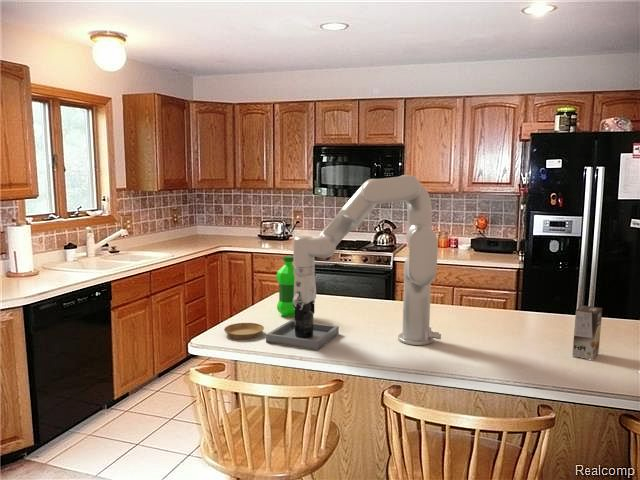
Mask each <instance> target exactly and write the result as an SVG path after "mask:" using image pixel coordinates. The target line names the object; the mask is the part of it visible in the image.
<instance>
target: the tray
mask: <svg viewBox="0 0 640 480" xmlns="http://www.w3.org/2000/svg"><path fill="white" fill-rule="evenodd" d="M339 328H340V326H338V325H332V324H331V325H330V324H325V323H316V322H313V336H312V337H310V338H298V337H296V336H295V319H294V320H292V319H290V320H289V321H286V322H285V323H283V324H281V325H280V326H279V327H277V328H274V329H273V330H271V331H269V332H268V333H266V334H265V342H266V343H267V344H273V345H281V346H287V347H293V348H300V349H306V350H313V351H319V350H320V349H321V348H322V347H324V346H325V345H327V344H328V343H330V342H331V341H332V340H333V339H334V338H336V337H337V336H338V335H339V334H340V333H339V332H340V331H339V330H340V329H339Z"/></svg>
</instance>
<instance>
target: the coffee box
mask: <svg viewBox="0 0 640 480" xmlns="http://www.w3.org/2000/svg"><path fill="white" fill-rule="evenodd" d="M602 316H603V307H597V306H591V305H590V306H589V305H582V306H579V307H578V308H576V309H575V317H574V318H575V320H574V330H573V340H572V341H573V343H572V355H573V356H577V357H581V358H580V359H582V358H586V359H591V360H590V361H593V360H594V359H595V358H596V357H597V356H598V355H599V354H598V353H600V352H599V351H600V341H601V329H602V318H603V317H602ZM597 354H598V355H597ZM572 355H571V356H572ZM596 355H597V356H596ZM573 356H572V357H573ZM595 356H596V357H595ZM577 357H576V358H577ZM586 359H585V360H586Z"/></svg>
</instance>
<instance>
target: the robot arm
mask: <svg viewBox="0 0 640 480" xmlns="http://www.w3.org/2000/svg"><path fill="white" fill-rule="evenodd" d="M400 202H404V203H405V204H406V209H407V213H406V214H407V215H406V216H407V220H406V221H407V222H406V224H407V225H406V236H405V240H406V243H407V245H408V248H409V249H408V250H409V253H408V257H407V258H406V260H405V261H404V263H403V269H402V270H403V300H402V301H403V302H402V303H403V304H402V307H403V308H402V332H401V333H399V334H398V336H397V340H398V341H399V342H401V343H404V344H406V345H410V346H411V345H412V346H425V345H426V346H427V345H430V344H432V343H433V342H434V339H435V340H441V339H442V334H441V333H440V332H438V331H433V330H432V327H430V320H431V319H430V318H431V317H430V316H431V299H432V297H431V296H432V295H431V293H432V291H431V290H432V289H431V288H432V282H434V280H435V278H436V276H437V271H438V269H437V268H438V249H439V248H438V245H439V242H438V237H437V234H436V232H435V231H434V229H433V227H432V226H433V223H432V221H433V218H432V217H433V216H432V215H433V212H432V211H433V209H432V200H431V197H430V194H429V193H428V191H427V189H426V187H425V186H424V185H423V184H422V183H421V182H420V179H418V178H417V177H416V176H414V175H411V174H402V175H400V176H393V177H385V178H383V177H382V178H369V179H367V180H366V181H364V182H363V184H362V185H361V186H360V187H359V188H358V189H357V190H356V191H355V193H353V195H352V196H351V198H349V200H348V201H347V202H346V203H345V204H344V206H342V208H341V209H340V210H339V211H338V213H337V215H336V216H334V218H333V219H332V220H331V221H330V222H329V224H328V225H327V226H326V227H325V228H324V229H323V230H322V232H320V234H319V235H318V236H317V237H312V236H308V235H300V236H299V235H298V236H295V237H294V238H293V245H292V247H293V249H292V251H293V257H294V261H293V266H294V275H295V280H294V298H293V306H294V310H295V315H294V321H295V320H297V321H303V310H302V308H303V305H304V303H305V304H307V303H310V304H311V309H310V310H311V311H312V312H313V315H314V314H315V303H316V299H317V285H316V277H315V276H316V274H315V272H316V269H315V262H316V261H315V258H321V259H322V258H323V259H327V258H330V257H332V256H333V255H334V254H335V252H336V248H337V246H338V245H339V243H341V241H342V240H343V239H344V238H345V237H346V236H347V235H348V234H349V233H351V231H352V230H354V229H356V228H357V227H358V226H360V225H361V224H362V222H363V221H364V220H366V218H367V216H368V215H370V213H371V212H372V211H374V209H375V207H377V205H381V204H384V205H385V204H392V203H400ZM299 304H301V305H299Z"/></svg>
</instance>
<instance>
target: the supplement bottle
mask: <svg viewBox="0 0 640 480" xmlns="http://www.w3.org/2000/svg"><path fill="white" fill-rule="evenodd" d="M299 305H301V304H299ZM310 309H311V304H310V303H307V304H305V303H304V305H303V308H302V310H303V321H297V320H295V319H294V321H295V336H296V337H298V338H310V337H312V336H313V323H314V314H313V312H312V311H311V310H310Z"/></svg>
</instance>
